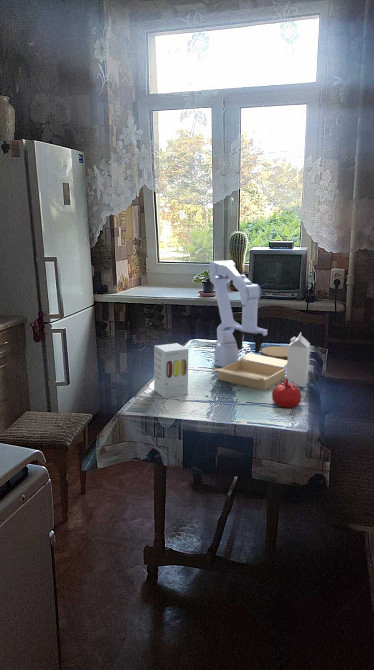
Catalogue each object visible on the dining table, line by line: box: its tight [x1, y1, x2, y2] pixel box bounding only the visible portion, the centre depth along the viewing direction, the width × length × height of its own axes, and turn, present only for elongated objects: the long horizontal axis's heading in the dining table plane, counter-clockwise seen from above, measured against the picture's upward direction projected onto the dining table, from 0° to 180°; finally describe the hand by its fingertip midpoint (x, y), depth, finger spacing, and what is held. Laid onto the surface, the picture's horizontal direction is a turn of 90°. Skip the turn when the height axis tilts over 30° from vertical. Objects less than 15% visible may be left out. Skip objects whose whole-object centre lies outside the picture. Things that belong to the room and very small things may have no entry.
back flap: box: [240, 352, 288, 369], centre depth 203 cm, size 19×6×1 cm, turn 54°
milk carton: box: [286, 332, 311, 388], centre depth 189 cm, size 7×7×19 cm
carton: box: [217, 359, 286, 391], centre depth 195 cm, size 20×17×4 cm
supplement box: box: [153, 342, 189, 399], centre depth 179 cm, size 10×9×17 cm
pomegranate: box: [271, 377, 302, 409], centre depth 170 cm, size 10×10×9 cm
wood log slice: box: [260, 345, 288, 360], centre depth 225 cm, size 16×16×3 cm
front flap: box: [212, 367, 264, 380], centre depth 186 cm, size 19×6×1 cm, turn 54°
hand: (248, 350), depth 197 cm, fingers open, 7 cm apart
